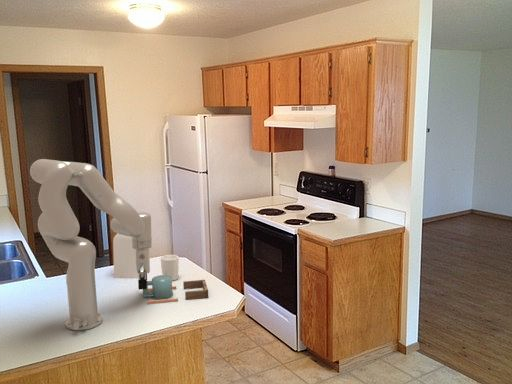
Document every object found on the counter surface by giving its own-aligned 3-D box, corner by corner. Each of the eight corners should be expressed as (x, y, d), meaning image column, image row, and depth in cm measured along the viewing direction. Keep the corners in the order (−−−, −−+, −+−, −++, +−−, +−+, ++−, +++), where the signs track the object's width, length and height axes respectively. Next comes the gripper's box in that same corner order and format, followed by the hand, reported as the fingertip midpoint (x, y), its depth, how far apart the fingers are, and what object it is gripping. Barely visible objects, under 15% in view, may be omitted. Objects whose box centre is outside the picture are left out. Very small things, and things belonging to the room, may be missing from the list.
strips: (178, 301, 186) (178, 299, 185) (147, 304, 183) (147, 301, 183) (176, 288, 199) (176, 285, 199) (147, 290, 196) (147, 288, 196)
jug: (172, 298, 188) (172, 281, 187) (143, 301, 186) (142, 283, 184) (172, 291, 196) (171, 274, 194) (143, 293, 193) (142, 276, 192)
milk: (139, 278, 211) (136, 222, 206) (114, 278, 211) (110, 222, 206) (145, 268, 223) (143, 216, 218) (122, 268, 223) (118, 216, 218)
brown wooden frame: (208, 297, 189) (208, 290, 188) (185, 299, 187) (185, 292, 186) (205, 286, 201) (204, 279, 200) (183, 288, 199) (183, 281, 198)
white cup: (181, 275, 214) (180, 254, 212) (176, 282, 206) (175, 260, 204) (164, 275, 214) (163, 254, 212) (159, 281, 207) (158, 260, 205)
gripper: (151, 249, 178) (152, 291, 180) (151, 237, 194) (152, 277, 197) (131, 250, 176) (132, 293, 179) (133, 238, 193) (134, 278, 195)
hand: (142, 284), depth 188 cm, fingers open, 9 cm apart
